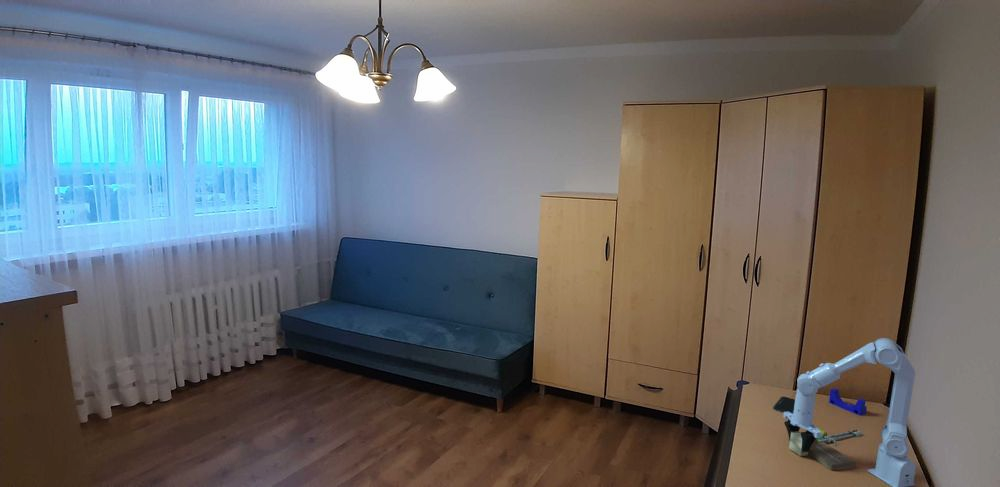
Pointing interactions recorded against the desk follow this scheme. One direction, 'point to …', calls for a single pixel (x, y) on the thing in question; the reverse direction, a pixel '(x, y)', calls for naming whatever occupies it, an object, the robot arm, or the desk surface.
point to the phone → (785, 405)
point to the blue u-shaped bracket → (857, 408)
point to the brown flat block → (829, 456)
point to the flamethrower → (830, 437)
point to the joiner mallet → (798, 443)
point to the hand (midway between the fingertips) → (798, 446)
